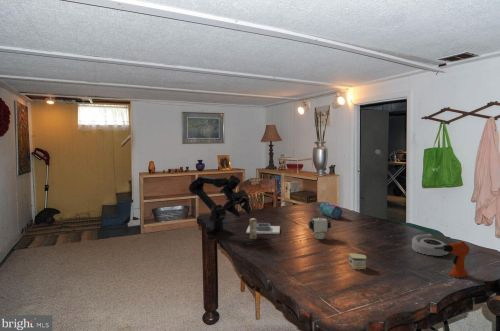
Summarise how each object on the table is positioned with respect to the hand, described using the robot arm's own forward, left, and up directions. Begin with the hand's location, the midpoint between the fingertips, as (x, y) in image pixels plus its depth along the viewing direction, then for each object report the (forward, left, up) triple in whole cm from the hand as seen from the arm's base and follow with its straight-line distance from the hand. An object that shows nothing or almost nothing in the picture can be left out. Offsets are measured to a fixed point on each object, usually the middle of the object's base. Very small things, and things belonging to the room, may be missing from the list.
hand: (244, 214), depth 184 cm
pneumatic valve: (+37, +21, -13) cm, 45 cm away
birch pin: (+6, 0, -13) cm, 14 cm away
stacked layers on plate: (+69, -8, -13) cm, 70 cm away
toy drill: (+102, +3, -13) cm, 103 cm away
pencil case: (+21, +74, -13) cm, 78 cm away
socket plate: (+2, +16, -13) cm, 20 cm away
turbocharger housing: (+90, +32, -13) cm, 97 cm away
